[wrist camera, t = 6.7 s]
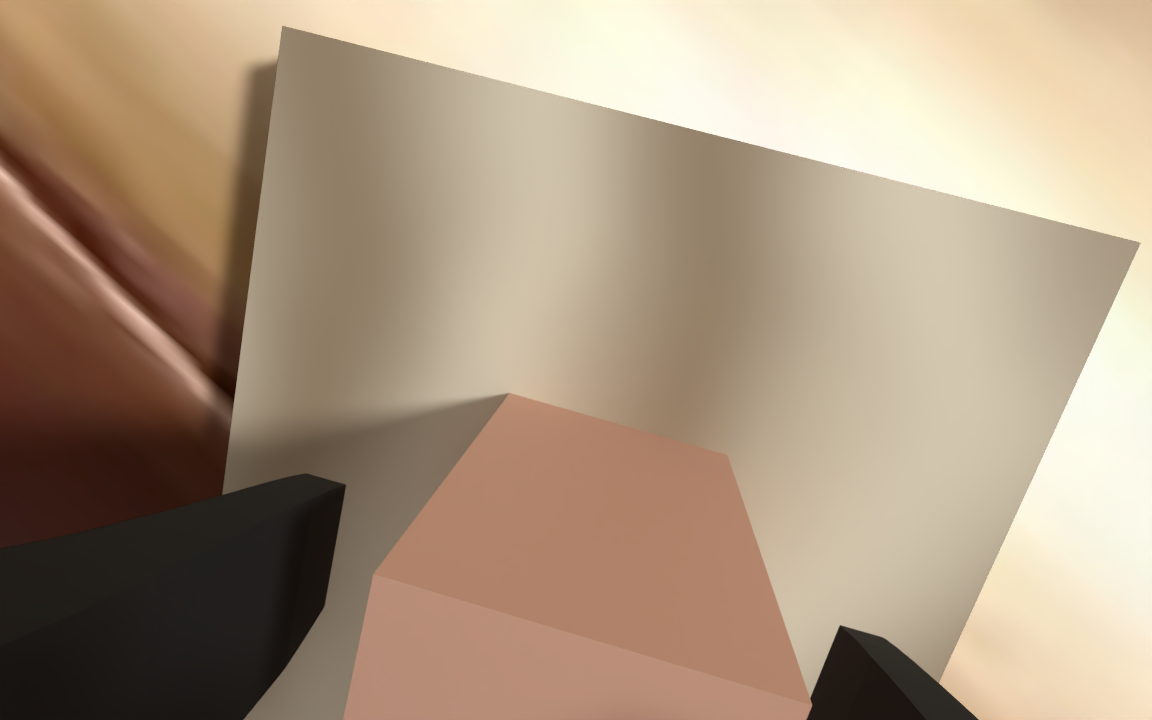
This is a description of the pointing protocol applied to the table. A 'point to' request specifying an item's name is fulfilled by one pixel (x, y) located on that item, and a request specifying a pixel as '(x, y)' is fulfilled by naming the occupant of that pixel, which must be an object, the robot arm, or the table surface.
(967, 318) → the board
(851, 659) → the robot arm
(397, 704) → the block
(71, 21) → the table surface
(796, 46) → the table surface
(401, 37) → the table surface
